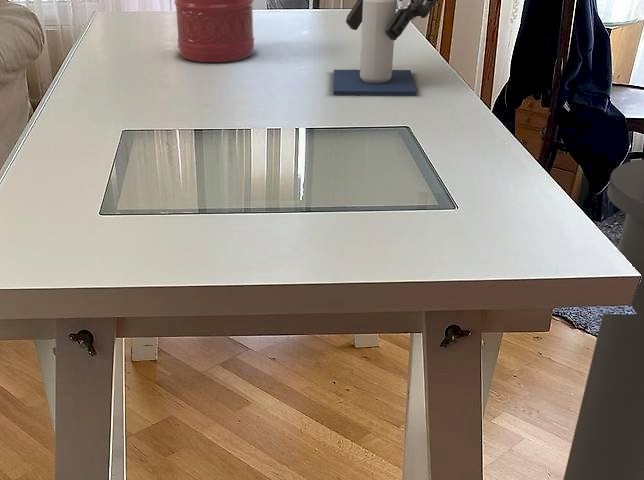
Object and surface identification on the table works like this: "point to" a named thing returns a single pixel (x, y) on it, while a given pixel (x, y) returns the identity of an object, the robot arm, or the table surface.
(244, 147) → the table surface
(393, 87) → the drinks mat
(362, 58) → the beverage can
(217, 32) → the kitchen canister
